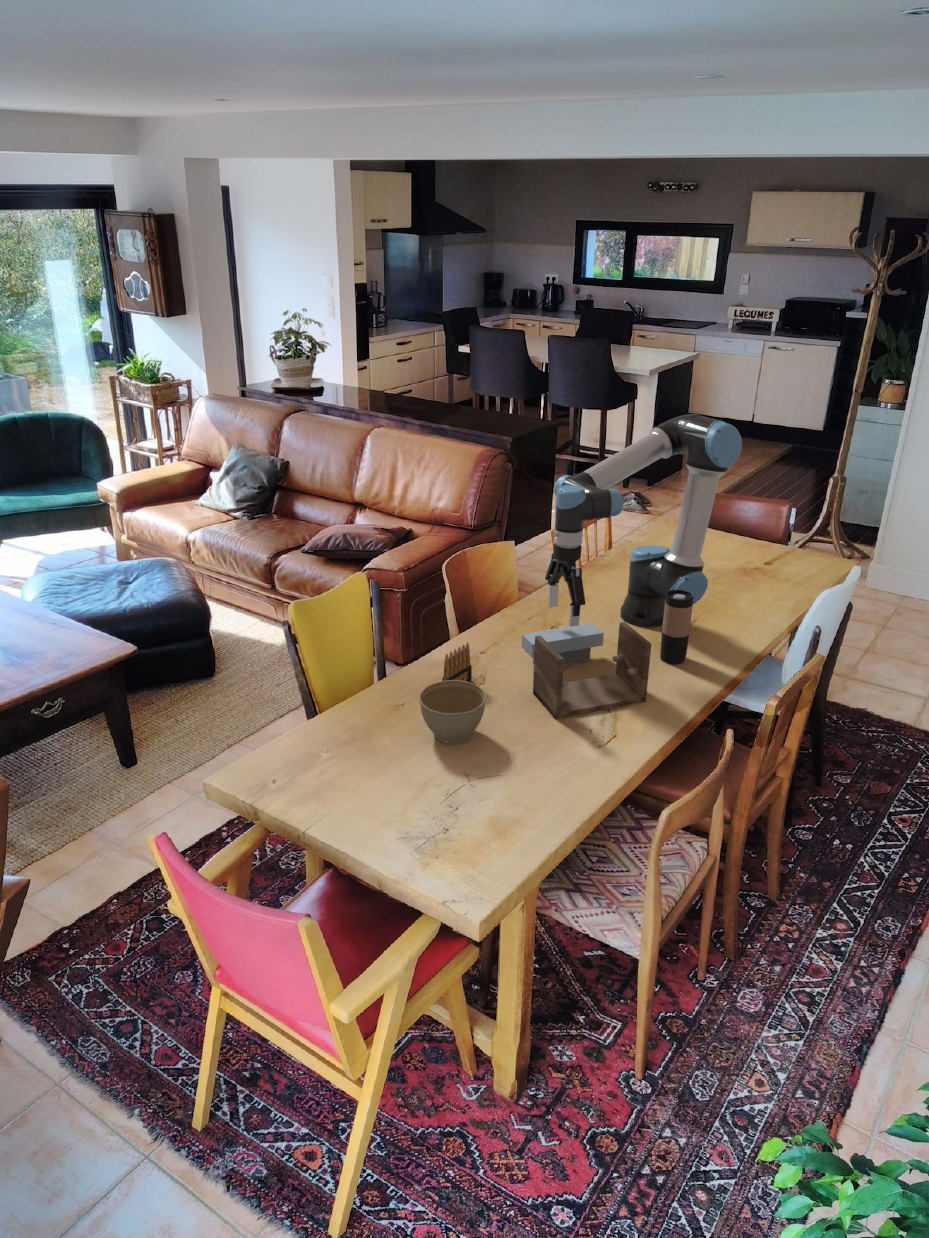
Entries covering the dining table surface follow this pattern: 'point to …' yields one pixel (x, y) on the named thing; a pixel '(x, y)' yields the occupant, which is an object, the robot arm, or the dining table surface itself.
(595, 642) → the shelf board
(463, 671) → the ammunition clip
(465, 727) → the planter bowl
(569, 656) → the grey rectangular block
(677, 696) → the dining table surface
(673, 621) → the travel mug
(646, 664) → the shelf frame
